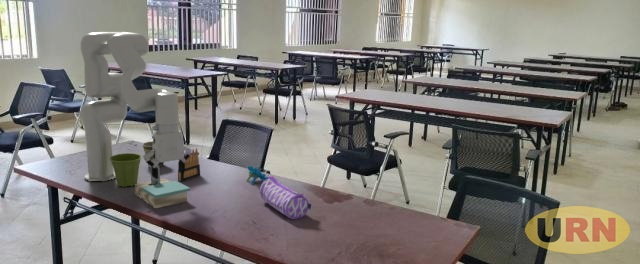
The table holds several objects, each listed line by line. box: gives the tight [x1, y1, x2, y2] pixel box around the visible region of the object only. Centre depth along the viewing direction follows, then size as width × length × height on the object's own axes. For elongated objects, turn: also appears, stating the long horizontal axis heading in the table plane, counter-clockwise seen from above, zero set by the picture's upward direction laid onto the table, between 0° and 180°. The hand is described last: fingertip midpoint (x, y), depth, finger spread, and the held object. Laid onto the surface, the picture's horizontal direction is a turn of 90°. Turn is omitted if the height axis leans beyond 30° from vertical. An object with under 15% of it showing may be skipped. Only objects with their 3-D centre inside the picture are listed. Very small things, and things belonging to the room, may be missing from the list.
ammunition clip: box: [177, 148, 201, 183], centre depth 216 cm, size 11×2×12 cm, turn 147°
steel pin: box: [149, 166, 161, 185], centre depth 195 cm, size 3×3×10 cm
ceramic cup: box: [142, 140, 165, 168], centre depth 231 cm, size 13×10×10 cm
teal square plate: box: [142, 180, 191, 198], centre depth 189 cm, size 12×13×1 cm
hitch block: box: [134, 178, 188, 209], centre depth 193 cm, size 18×12×4 cm, turn 40°
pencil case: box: [259, 175, 312, 220], centre depth 184 cm, size 22×9×10 cm, turn 35°
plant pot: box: [110, 152, 143, 188], centre depth 206 cm, size 12×12×11 cm
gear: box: [246, 165, 269, 185], centre depth 212 cm, size 11×6×10 cm
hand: (168, 175), depth 185 cm, fingers open, 9 cm apart
